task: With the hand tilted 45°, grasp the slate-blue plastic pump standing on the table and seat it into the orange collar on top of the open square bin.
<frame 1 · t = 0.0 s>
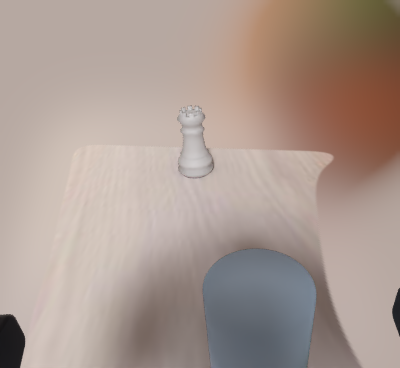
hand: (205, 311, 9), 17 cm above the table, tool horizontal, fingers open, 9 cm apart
rook chess piece: (196, 171, 47), on the table
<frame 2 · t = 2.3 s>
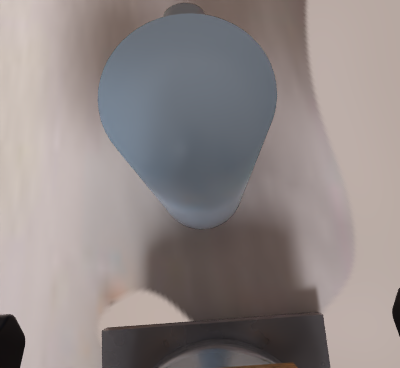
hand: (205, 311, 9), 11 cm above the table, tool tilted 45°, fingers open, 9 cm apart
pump: (201, 189, 21), on the table
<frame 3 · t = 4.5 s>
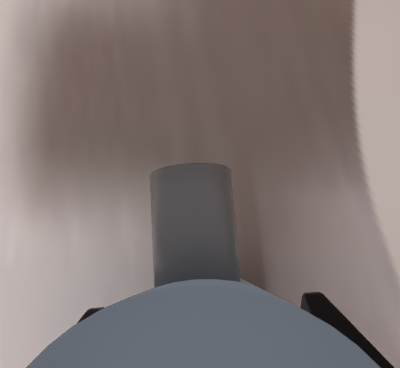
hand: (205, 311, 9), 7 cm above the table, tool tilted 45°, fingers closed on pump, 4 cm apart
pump: (212, 327, 15), on the table, touching gripper
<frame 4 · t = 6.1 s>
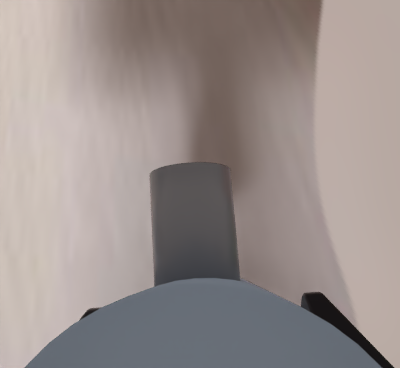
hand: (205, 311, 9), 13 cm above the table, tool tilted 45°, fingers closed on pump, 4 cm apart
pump: (212, 327, 15), point 7 cm above the table, touching gripper
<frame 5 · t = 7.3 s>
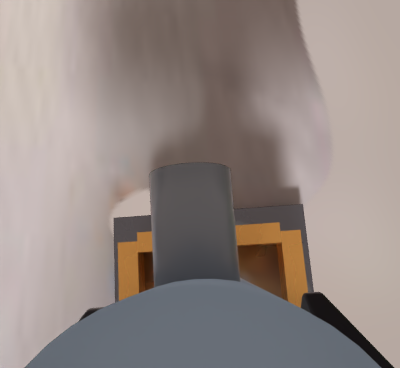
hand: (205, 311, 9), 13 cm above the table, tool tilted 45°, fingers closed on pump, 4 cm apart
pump: (212, 327, 15), point 7 cm above the table, touching gripper
open square bin: (214, 308, 22), on the table
when the fingers open (11 cm above the table, at t = 8.0 s): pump stays where it is, resting on open square bin.
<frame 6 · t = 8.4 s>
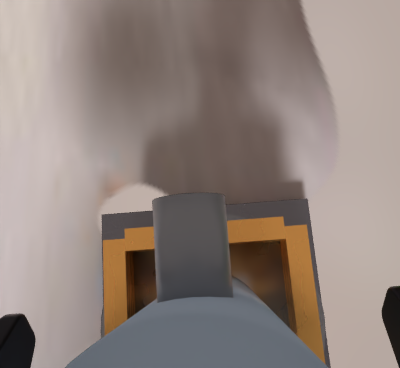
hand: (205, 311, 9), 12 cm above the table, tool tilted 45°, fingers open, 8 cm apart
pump: (211, 325, 16), point 4 cm above the table, touching open square bin
open square bin: (212, 312, 20), on the table
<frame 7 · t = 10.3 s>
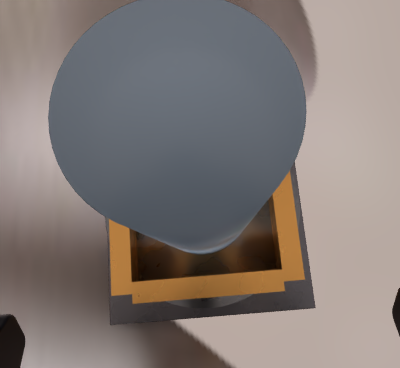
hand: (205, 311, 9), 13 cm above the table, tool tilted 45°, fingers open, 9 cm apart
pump: (201, 207, 18), point 4 cm above the table, touching open square bin
open square bin: (204, 216, 22), on the table
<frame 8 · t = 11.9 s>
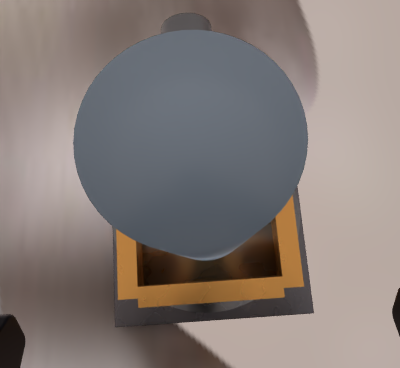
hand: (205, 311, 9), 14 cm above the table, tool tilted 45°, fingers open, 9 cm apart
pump: (204, 215, 19), point 4 cm above the table, touching open square bin
open square bin: (206, 222, 23), on the table
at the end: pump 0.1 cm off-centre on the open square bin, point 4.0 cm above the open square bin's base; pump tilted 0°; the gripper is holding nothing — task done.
